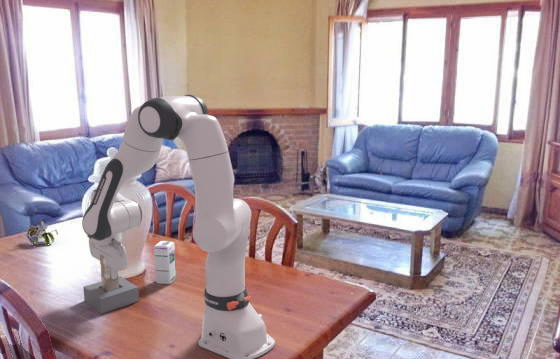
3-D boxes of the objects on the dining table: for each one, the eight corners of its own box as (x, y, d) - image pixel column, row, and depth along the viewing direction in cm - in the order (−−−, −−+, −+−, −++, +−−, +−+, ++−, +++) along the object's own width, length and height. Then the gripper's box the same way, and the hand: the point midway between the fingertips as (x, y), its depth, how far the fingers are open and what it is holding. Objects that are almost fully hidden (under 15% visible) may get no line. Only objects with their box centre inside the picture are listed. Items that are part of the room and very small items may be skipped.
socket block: (139, 301, 164) (138, 287, 163) (101, 313, 155) (100, 299, 154) (120, 289, 173) (120, 276, 172) (84, 300, 164) (83, 286, 163)
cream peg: (119, 294, 164) (116, 254, 161) (107, 298, 161) (105, 257, 158) (113, 290, 166) (111, 251, 164) (102, 294, 164) (99, 254, 161)
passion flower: (34, 256, 220) (17, 235, 219) (53, 245, 229) (38, 224, 228) (44, 247, 214) (28, 224, 213) (64, 235, 223) (48, 214, 222)
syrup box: (170, 284, 177) (168, 246, 174) (155, 283, 178) (153, 245, 176) (176, 278, 183) (175, 241, 180) (162, 277, 184) (160, 240, 181)
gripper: (131, 241, 154) (133, 282, 157) (102, 227, 169) (105, 265, 172) (112, 245, 150) (115, 288, 153) (84, 230, 164) (87, 269, 167)
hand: (109, 275), depth 162 cm, fingers closed on cream peg, 4 cm apart
